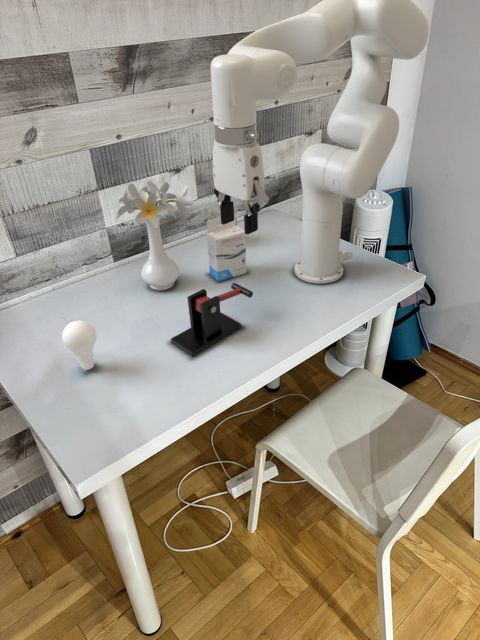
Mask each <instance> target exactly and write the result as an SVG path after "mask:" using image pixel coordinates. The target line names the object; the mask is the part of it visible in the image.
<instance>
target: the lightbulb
mask: <svg viewBox="0 0 480 640" xmlns="http://www.w3.org/2000/svg"><path fill="white" fill-rule="evenodd" d="M61 338H62V342H63V345H64V346H65V347H66V349H68V350H69V351H70V352H71V353H73V354H74V356H75V358H76V360H77V361H78V362H79V365H80V367H81V369H83V370H85V371H87V370H91V369H93V368H94V366H95V361H94V357H95V356H94V355H95V354H94V347H95V345H96V341H97V333H96V330H95V328H94V326H92V324H90V323H89V322H87V321H85V320H74V321H71V322H69V323H67V325H66V326H65V327H64V329H63V330H62V335H61Z"/></svg>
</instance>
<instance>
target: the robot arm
mask: <svg viewBox="0 0 480 640" xmlns="http://www.w3.org/2000/svg"><path fill="white" fill-rule="evenodd" d="M429 29H430V28H429V22H428V20H427V17H426V15H425V13H424V12H423V10H421V9H420V8H419V6H418V5H417V4H416V3H415V2H414V1H413V0H321V1H320V2H318V3H317V4H315V5H314V6H312V7H311V8H309V9H308V10H306V11H304V12H303V13H300V14H296V15H294V16H291V17H288V18H286V19H283V20H280V21H277V22H275V23H271V24H268V25H266V26H264V27H261V28H260V29H259V28H258V29H257V30H255V31H253V32H252V33H250V34H249V35H247V36H246V37H244V38H242V39H241V40H240V41H238V42H237V43H236V44H234V45H233V46H232V48H231V49H230V50H229V51H228V52H227V54H220V55H217V56H215V57H214V58H212V60H211V62H210V84H211V99H212V115H213V131H214V140H213V149H212V176H211V178H209V180H208V183H209V186H210V187H211V188H212V190H213V193H214V196H215V197H216V198H217V200H216V202H217V204H218V205H219V211H220V214H221V224H223V225H225V224H227V223H229V222H232V221H234V213H235V206H234V204H235V203H234V201H233V200H232V198H234V199H237V200H240V201H242V204H243V208H244V210H245V214H243V215H244V216H243V227H244V229H243V230H244V231H245V235H250V234H252V233H255V232H257V231H258V230H259V213H260V212H261V210H262V209H264V207H265V206H266V205H267V204H268V203H269V202H270V198H269V196H268V195H267V193H266V190H265V189H266V183H265V169H264V168H265V167H264V161H263V153H262V149H261V144H260V143H259V142H257V141H258V139H259V133H258V132H257V111H256V110H257V107H256V106H257V105H256V102H257V101H258V100H279V99H281V98H284V97H286V96H287V95H289V94H290V93H291V92H292V91H293V89H294V88H295V85H296V84H297V80H298V67H297V65H303V64H310V63H314V62H315V63H316V62H318V61H319V62H321V61H323V60H325V59H327V58H328V57H330V56H331V55H332V54H333V53H334V52H336V51H337V50H339V49H340V48H341V47H342V46H344V45H345V44H347V43H348V42H349V41H350V48H351V61H352V62H351V63H352V64H351V65H352V66H351V74H350V76H349V79H348V82H347V84H346V86H345V88H344V90H343V92H342V93H341V96H340V98H339V99H338V101H337V104H336V105H335V107H334V109H333V111H332V113H331V115H330V117H329V119H328V124H327V126H326V131H327V136H328V138H329V139H330V140H331V141H333V142H334V143H335V144H339V145H341V146H342V147H341V146H338V145H334V144H329V143H324V142H320V143H319V142H318V143H314V144H311V145H309V146H308V147H307V148H306V149H305V150H304V151H303V153H302V155H301V157H300V162H299V177H300V182H301V183H300V184H301V189H302V215H301V216H302V217H301V239H300V240H301V242H300V260H298V261H297V262H296V263H295V264H294V266H293V267H294V268H293V272H294V275H295V276H296V277H297V278H298V279H299V280H302V281H304V282H307V283H310V284H316V285H317V284H319V285H321V284H330V283H333V282H336V281H338V280H340V279H341V278H342V277H343V275H344V267H343V265H342V263H343V262H344V261H347V260H350V259H352V258H353V256H354V255H353V252H352V251H351V250H349V251H345V252H343V250H342V249H340V245H341V244H340V243H341V235H342V233H341V232H342V223H343V212H344V207H343V206H344V205H343V199H342V197H345V198H349V199H354V200H357V199H361V198H363V197H364V196H366V195H367V194H368V193H369V192H370V190H371V188H372V187H373V186H374V184H375V182H376V180H377V178H378V176H379V174H380V172H381V171H382V169H383V168H384V167H383V166H384V164H386V161H387V160H388V157H389V156H390V154H391V152H392V150H393V148H394V147H395V144H396V142H397V139H398V135H399V131H400V118H399V115H398V113H397V111H396V110H395V109H394V108H392V107H390V106H387V105H385V104H381V102H382V100H383V99H384V96H385V94H386V91H387V86H388V82H387V75H386V72H385V69H384V68H385V67H384V66H383V61H382V58H386V59H387V58H389V59H395V60H406V61H407V60H413V59H415V58H417V57H418V56H419V55H421V53H422V51H424V49H425V47H426V45H427V42H428V39H429ZM343 146H345V147H349V148H352V149H348V148H345V147H343ZM353 149H356V150H353ZM250 202H251V203H252V206H251V203H250Z"/></svg>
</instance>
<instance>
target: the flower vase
mask: <svg viewBox="0 0 480 640" xmlns="http://www.w3.org/2000/svg"><path fill="white" fill-rule="evenodd" d="M169 188H170V184H169V182H166V181H165V182H162V183H161V184H160V185H159V186H158V187H157V185H156V184H155V183H154V182H152V181H151V180H146V185H145V186H143V187H141V188H140V189H139V191H138V188H137V186H136V184H133V182H131V183H129V184H128V186H127V187H125V191H124V193H123V196H121V197H119V198H118V202H119V203H120V205H119V208H118V210H117V213H116V217H115V219H114V221H116V220H118V219H119V218H120V217H121V216H122V215H124V214H125V213H128V214H133V213H134V212H135V211H136V210H138V211H139V210H140V211H139V212H138V213H137V215H136V216H135V219H134V220H135V222H136V223H137V224H142V223H145V226H146V227H145V228H146V231H147V236H148V245H149V246H148V247H149V252H148V253H149V254H148V258H147V261H145V262H144V264H143V265H142V267H141V271H140V276H141V278H142V280H143V282H145V283H146V284H147V285H149V287H150V289H152V290H155V291H166V290H169V289H171V288H173V286H174V285H175V282H176V281H177V279H178V278H179V276H180V268H179V265H178V264H177V263H176V262H175V261H174V260H173V259H172V258H170V257H169V256H168V254H167V253H166V251H165V247H164V243H163V238H162V232H161V216H164V215H166V214H169V215H171V216H172V217H174V218H176V219H177V215H176V214H175V213H174V212H179V213H180V212H181V213H182V214H183V215H184V217H185V218H186V219H188V218H189V210H188V208H187V207H191V206H193V205H194V199H193V198H191V197H190V196H187V194H188V192H189V185H188V184H187V183H186V184H184V186H183V187H182V189H181V190H180V188H177V190H176V194H175V193H171V192H168V191H169ZM149 190H150V191H149ZM171 203H175V205H176V207H174V206H173V205H172V204H171Z"/></svg>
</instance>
